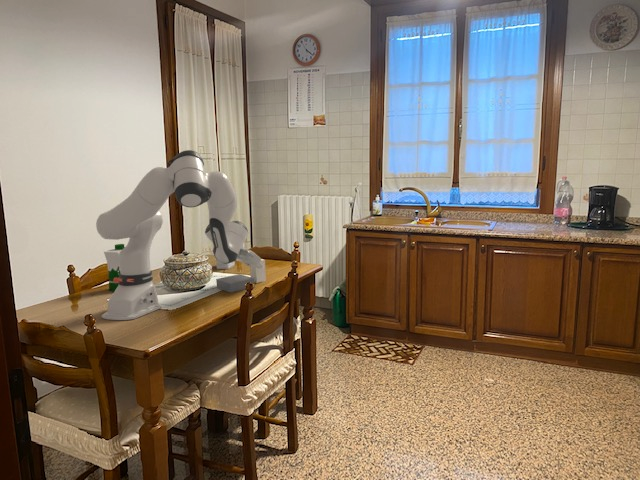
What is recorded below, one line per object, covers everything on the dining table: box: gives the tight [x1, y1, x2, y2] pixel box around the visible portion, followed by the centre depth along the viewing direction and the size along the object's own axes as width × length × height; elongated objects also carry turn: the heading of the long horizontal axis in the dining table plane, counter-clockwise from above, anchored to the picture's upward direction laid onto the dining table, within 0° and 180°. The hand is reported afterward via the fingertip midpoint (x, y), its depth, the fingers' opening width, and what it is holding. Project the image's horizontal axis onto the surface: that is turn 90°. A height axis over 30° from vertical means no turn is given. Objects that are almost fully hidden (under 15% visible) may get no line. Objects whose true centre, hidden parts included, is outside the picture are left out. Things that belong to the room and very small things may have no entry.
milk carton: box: [103, 243, 126, 292], centre depth 224 cm, size 9×9×20 cm
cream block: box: [249, 258, 267, 284], centre depth 230 cm, size 5×5×10 cm
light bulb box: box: [215, 258, 236, 270], centre depth 263 cm, size 11×7×11 cm, turn 172°
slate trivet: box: [215, 273, 256, 294], centre depth 220 cm, size 12×12×4 cm
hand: (255, 266), depth 228 cm, fingers open, 8 cm apart
